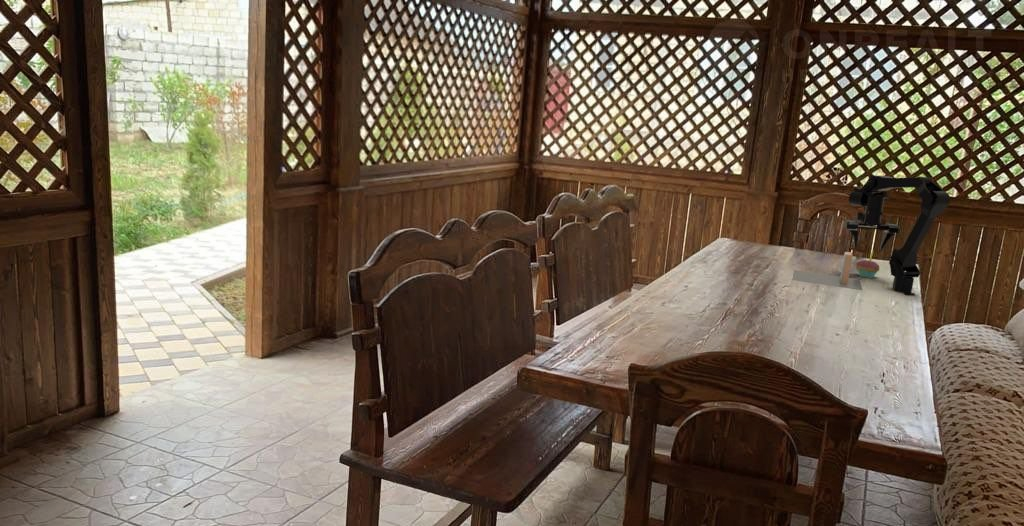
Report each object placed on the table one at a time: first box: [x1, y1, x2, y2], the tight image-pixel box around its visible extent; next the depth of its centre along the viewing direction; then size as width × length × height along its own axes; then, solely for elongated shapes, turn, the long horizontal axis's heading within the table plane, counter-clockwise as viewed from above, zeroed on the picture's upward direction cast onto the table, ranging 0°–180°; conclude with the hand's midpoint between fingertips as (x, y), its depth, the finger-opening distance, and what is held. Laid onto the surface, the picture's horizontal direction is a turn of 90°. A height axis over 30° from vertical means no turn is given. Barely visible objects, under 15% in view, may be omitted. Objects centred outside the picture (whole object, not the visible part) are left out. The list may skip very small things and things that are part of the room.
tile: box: [840, 251, 854, 284], centre depth 277 cm, size 2×7×11 cm, turn 158°
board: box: [792, 269, 863, 291], centre depth 280 cm, size 24×20×1 cm
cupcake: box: [855, 249, 880, 279], centre depth 291 cm, size 9×8×12 cm
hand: (867, 248), depth 285 cm, fingers open, 9 cm apart
